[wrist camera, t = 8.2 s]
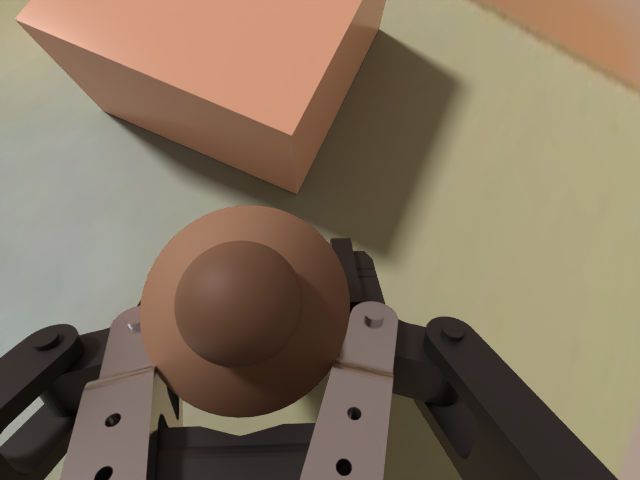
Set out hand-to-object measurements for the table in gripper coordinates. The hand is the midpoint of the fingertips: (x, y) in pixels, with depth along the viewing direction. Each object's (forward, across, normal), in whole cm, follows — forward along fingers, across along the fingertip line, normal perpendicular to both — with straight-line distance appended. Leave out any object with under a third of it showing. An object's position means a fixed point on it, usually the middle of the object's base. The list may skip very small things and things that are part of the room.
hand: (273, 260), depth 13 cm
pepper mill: (+2, 0, -5) cm, 5 cm away
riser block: (+12, -2, +6) cm, 13 cm away
